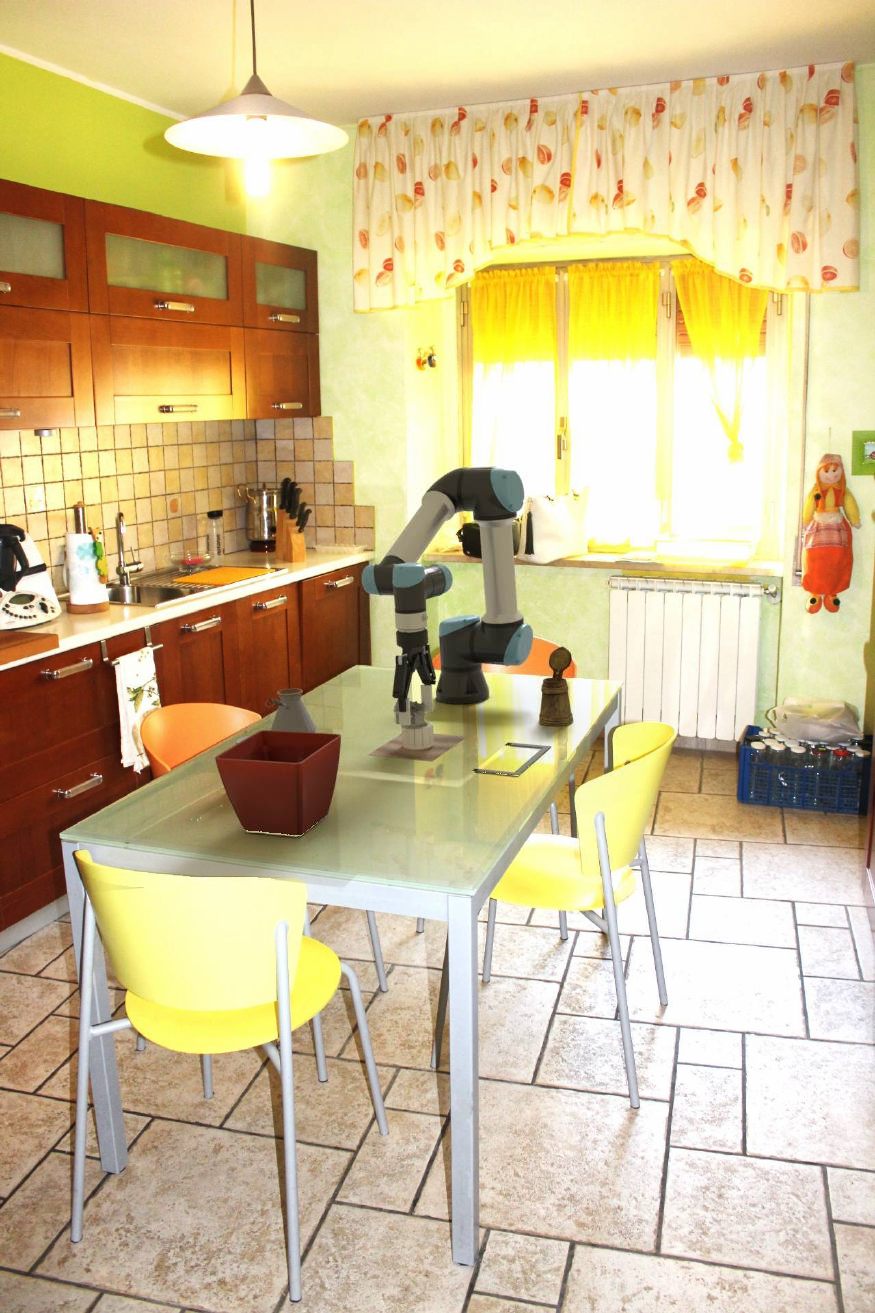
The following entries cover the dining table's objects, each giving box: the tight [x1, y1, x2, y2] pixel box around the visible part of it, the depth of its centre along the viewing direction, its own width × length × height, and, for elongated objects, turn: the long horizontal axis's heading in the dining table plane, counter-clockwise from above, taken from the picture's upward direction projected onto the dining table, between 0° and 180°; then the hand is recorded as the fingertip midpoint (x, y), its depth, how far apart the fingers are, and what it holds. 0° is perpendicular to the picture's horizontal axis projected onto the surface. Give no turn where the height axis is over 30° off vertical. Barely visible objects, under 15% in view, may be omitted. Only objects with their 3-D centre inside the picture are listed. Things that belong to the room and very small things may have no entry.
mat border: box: [472, 741, 552, 776], centre depth 259 cm, size 22×19×1 cm
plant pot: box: [214, 729, 342, 835], centre depth 222 cm, size 19×19×17 cm
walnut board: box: [367, 733, 467, 762], centre depth 268 cm, size 20×17×1 cm
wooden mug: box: [538, 645, 574, 727], centre depth 286 cm, size 9×14×18 cm, turn 159°
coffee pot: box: [264, 687, 317, 733], centre depth 275 cm, size 21×12×15 cm, turn 169°
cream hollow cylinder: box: [400, 720, 434, 750], centre depth 267 cm, size 8×8×5 cm
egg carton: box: [392, 699, 426, 725], centre depth 266 cm, size 11×8×4 cm
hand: (416, 717), depth 266 cm, fingers closed on egg carton, 11 cm apart
